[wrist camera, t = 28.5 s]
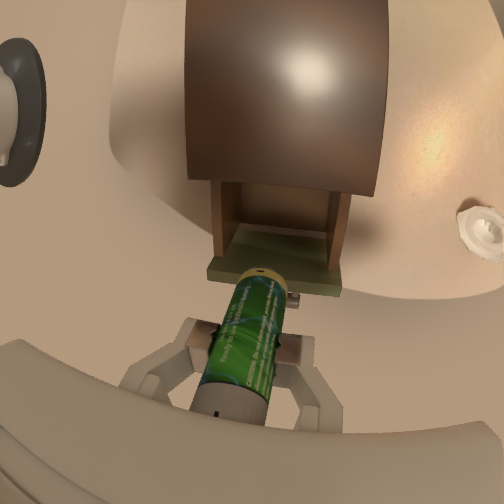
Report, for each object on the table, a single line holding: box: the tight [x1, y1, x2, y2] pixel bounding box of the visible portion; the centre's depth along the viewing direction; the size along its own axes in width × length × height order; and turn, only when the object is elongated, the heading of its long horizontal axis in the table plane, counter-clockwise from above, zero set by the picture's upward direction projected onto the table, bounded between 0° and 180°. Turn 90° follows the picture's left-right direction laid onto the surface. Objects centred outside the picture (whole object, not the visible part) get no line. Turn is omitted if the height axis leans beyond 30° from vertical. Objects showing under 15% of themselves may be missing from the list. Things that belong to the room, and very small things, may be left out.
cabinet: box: [184, 0, 389, 197], centre depth 18 cm, size 15×13×10 cm
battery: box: [189, 267, 288, 426], centre depth 11 cm, size 3×3×10 cm
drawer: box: [207, 181, 352, 309], centre depth 24 cm, size 18×11×8 cm, turn 179°
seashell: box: [456, 206, 504, 264], centre depth 22 cm, size 8×5×8 cm
